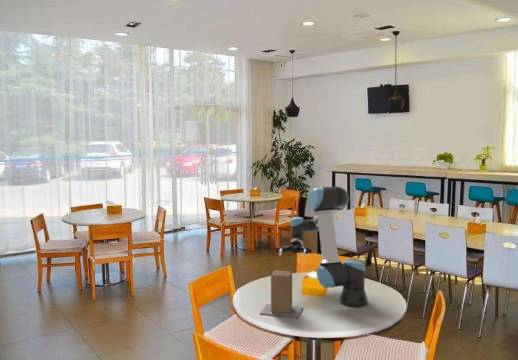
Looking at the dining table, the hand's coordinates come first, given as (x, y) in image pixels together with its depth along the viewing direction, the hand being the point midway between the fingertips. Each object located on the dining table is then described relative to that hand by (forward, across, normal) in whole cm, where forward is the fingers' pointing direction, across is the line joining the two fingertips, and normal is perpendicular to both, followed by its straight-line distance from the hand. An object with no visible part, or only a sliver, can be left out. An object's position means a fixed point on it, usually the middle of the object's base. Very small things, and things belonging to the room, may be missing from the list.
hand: (292, 253), depth 261 cm
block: (+17, +4, -27) cm, 32 cm away
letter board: (+17, +4, -27) cm, 32 cm away
